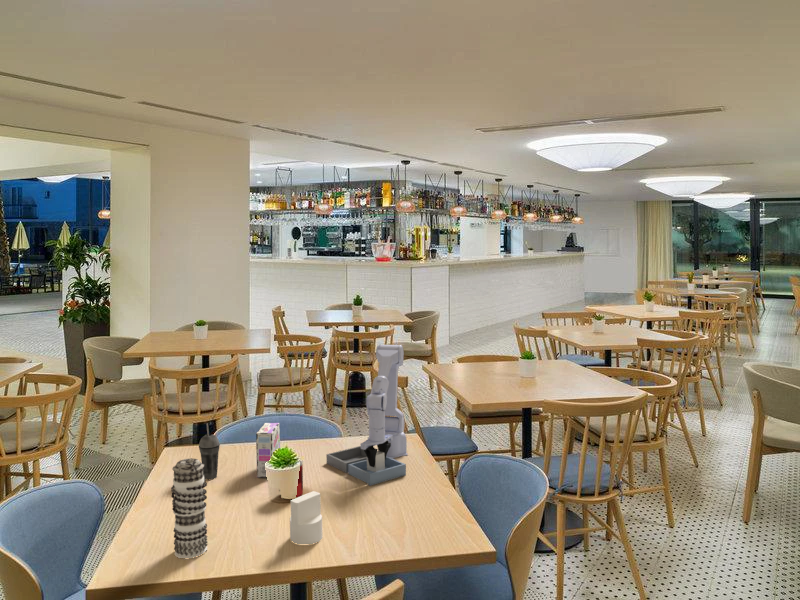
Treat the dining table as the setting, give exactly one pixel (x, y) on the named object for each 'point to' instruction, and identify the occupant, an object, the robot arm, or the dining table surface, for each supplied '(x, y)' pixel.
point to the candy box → (266, 445)
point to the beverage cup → (209, 454)
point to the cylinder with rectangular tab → (306, 519)
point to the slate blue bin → (390, 472)
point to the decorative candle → (189, 508)
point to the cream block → (377, 462)
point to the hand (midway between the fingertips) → (377, 464)
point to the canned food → (300, 481)
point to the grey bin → (346, 458)
